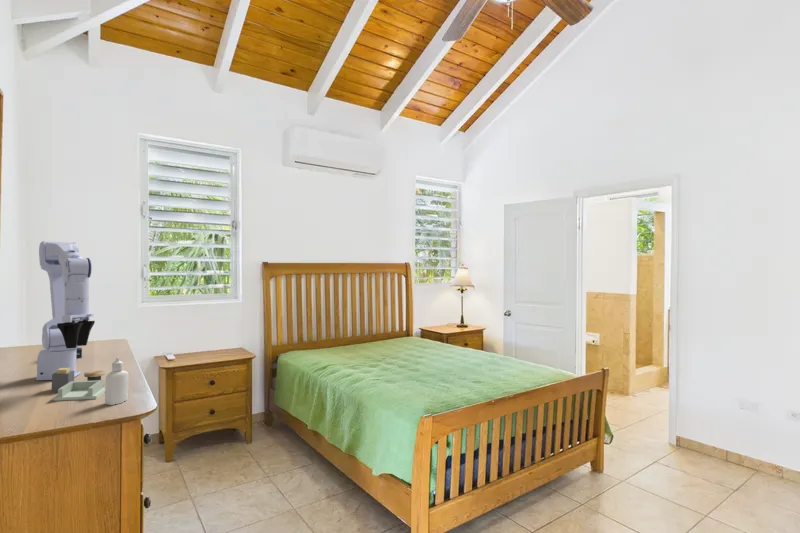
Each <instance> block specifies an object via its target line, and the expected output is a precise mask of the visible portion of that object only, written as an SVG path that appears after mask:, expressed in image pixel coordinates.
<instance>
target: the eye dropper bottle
mask: <svg viewBox="0 0 800 533" xmlns="http://www.w3.org/2000/svg"><path fill="white" fill-rule="evenodd" d="M104 386H105V387H104V388H105V392H104V396H105V397H104V404H105V405H107V406H114V405H115V404H116V405H119V404H123V403H125V402H126V401H128V399H129V372H128V371H126V370H124V362H123V361H121V360H120V357H119V356H117V357H115V361H114V362H112V365H111V371H110V372H109V373H108V374H106V375H105V383H104ZM124 401H125V402H124Z"/></svg>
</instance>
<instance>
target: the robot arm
mask: <svg viewBox="0 0 800 533" xmlns="http://www.w3.org/2000/svg"><path fill="white" fill-rule="evenodd" d="M79 252H80V250H79V245H78V243H77V242H64V241H63V242H60V241H45V240H42V241H41V242H40V243H39V246H38V257H39V266H40V269H41V270H42V271H45V272H46V273H47V275H48V279H49V288H50V289H49V290H50V301H51V303H50V304H51V314H52V318H51V319H49V321H47V322H45V323H44V324H43V326H42V332H41V333H42V335H41V343H42V348H43V349H41V350H40V351H39V352H38V355H37V361H36V378H35V381H52V374H54V373H56V372H57V370H58V369H60V368H70V371H74V378H75V377H78V376H79V375H80V374H82V372H81V371H77V358H76V351H77V348H79V347H82V346H83V347H84V346H87V345H88V340H89V336H90V335H91V334H90V333H91V331H92V328H93V326H94V325H95V322H96V321H95V320H91V317H94V313H90V303H89V302H90V300H89V298H90V294H89V293H90V292H89V290H90V289H89V288H90V287H89V286H90V285H89V284H90V282H89V281H90V279H89V278H91V275H92V261H91V259H90V257H86V258H84V257H83V256H82V255H81V254H80V253H79Z"/></svg>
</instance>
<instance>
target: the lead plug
mask: <svg viewBox="0 0 800 533" xmlns="http://www.w3.org/2000/svg"><path fill="white" fill-rule="evenodd" d="M71 381H75V377H74V371H70V368H60V369H58V370H57V372H56V373H54V374H52V380H51V393H58V389H59V388H61V387H63V386H64V385H66V384H68V383H69V382H71Z"/></svg>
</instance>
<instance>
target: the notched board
mask: <svg viewBox="0 0 800 533" xmlns="http://www.w3.org/2000/svg"><path fill="white" fill-rule="evenodd" d="M103 382H104V380H102V379H101V380H98V381H87V380H77V381H76V380H74V381H71V382H69V383H68V384H66V385H64V386H63V387H61V388H59V389H58V392H57V395H55V396H54V397H53V399H52V400H53V401H54V402H55V401H57V402H58V401H77V400H78V401H79V400H80V401H81V400H97V399H99V397H100V396H102V395H104V394H105V387H104V386H103Z"/></svg>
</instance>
